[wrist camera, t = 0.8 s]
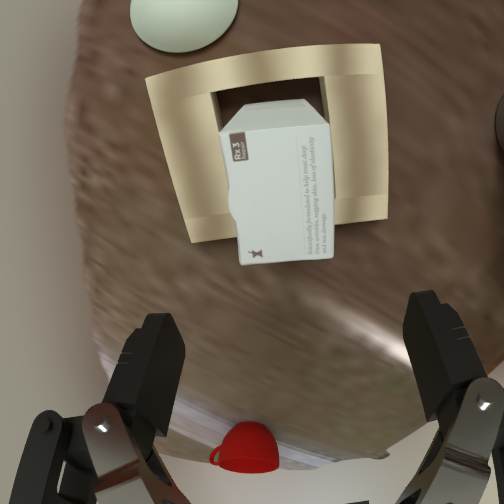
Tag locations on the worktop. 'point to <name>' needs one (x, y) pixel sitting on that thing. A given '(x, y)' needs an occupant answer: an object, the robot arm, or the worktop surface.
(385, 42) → the worktop surface
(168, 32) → the pale green disc
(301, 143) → the skincare box
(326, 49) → the pocket board
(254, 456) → the ceramic cup
